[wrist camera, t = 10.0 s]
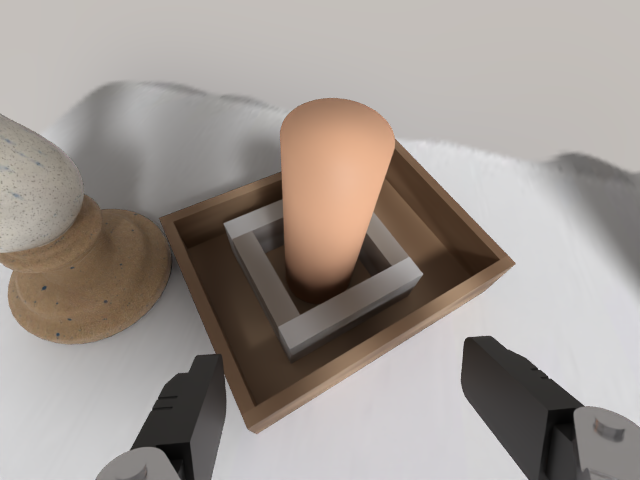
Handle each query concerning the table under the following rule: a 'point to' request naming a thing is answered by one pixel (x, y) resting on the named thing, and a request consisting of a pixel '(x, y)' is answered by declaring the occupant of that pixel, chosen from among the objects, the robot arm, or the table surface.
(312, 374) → the box
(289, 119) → the peg
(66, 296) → the candle holder
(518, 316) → the table surface
